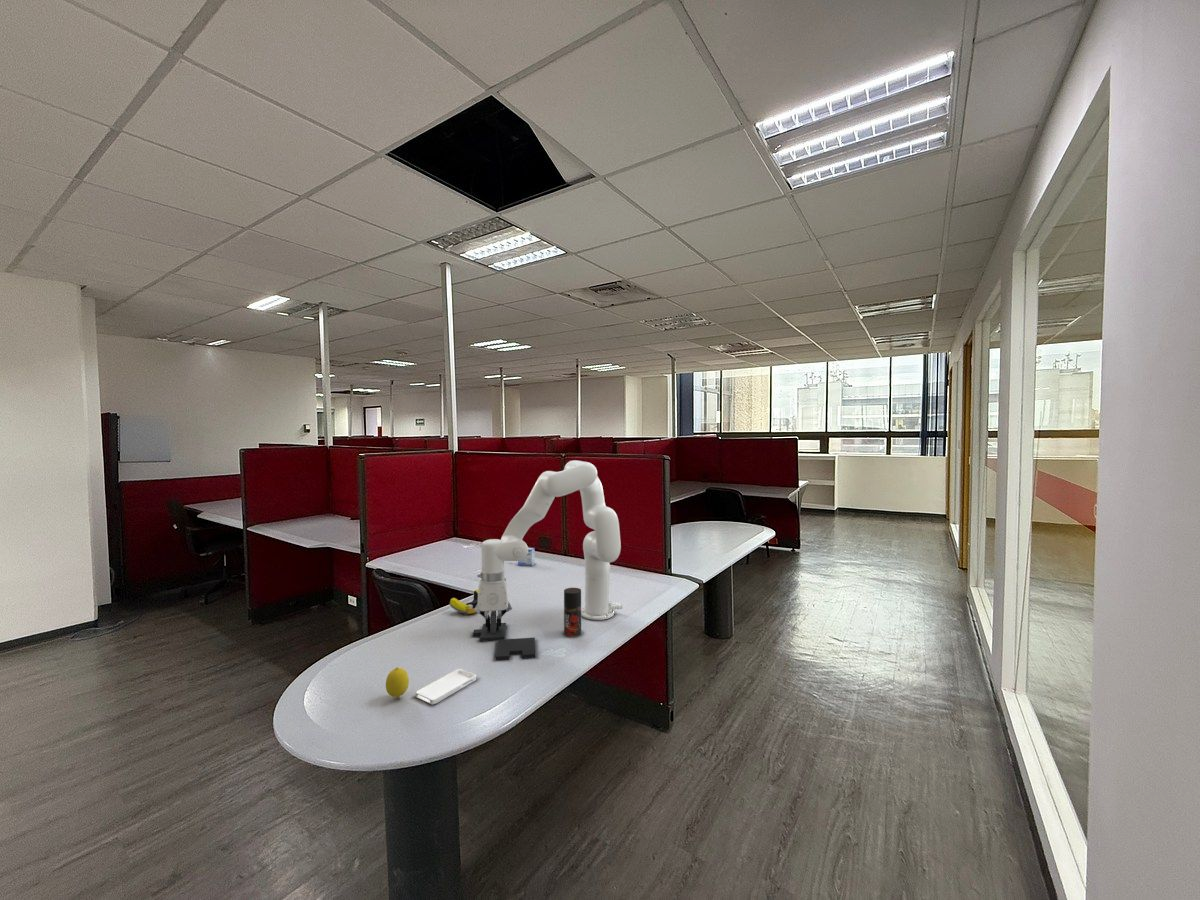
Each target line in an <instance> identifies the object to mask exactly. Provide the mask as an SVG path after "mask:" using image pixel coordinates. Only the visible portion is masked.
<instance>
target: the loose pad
mask: <svg viewBox="0 0 1200 900" xmlns="http://www.w3.org/2000/svg"><path fill="white" fill-rule="evenodd" d="M489 616H490V630H489V631H487V627H486V623H482V626H481V627H482V628H477V629H473V632H472V637H479V642H481V643H482V642H496V641H497V642H498V640H502V639H506V629H507V622H501V627H499V630H497V611H490V615H489Z"/></svg>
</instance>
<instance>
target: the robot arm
mask: <svg viewBox="0 0 1200 900" xmlns="http://www.w3.org/2000/svg"><path fill="white" fill-rule="evenodd" d="M577 491H579V492H580V497H581V498H580V499H581V506H582V516H583V518H582V519H583V522H584V524H585V526H586V527H588V528H590V529H592V530H593V531H590V532H588V533H587V534H586V535H585V537H584V538H583V542H582V550H583V558H584V607H583V608H581V617H583V618H584V619H587V620H590V621H591V620H593V621H604V620H608V619H610V618H612V617H614V615H615V610H623V603H618V602H612V601H611V563H613V562H616V561H617V559H618V558H619V556H620V555H621V549H622V545H621V544H622V543H621V542H622V541H621V531H620V522H619V518H618V514H617V513H616V511H615V510H614V509H613V508H611V507H609V506H607V505H606V502H605V495H604V489H603V485H602V482H601V480H600V478H599V476H598V470H597V467H596V466H595V465H594V463H593V464H592V463H591V462H588V461H583V460H575V459H574V460H569V461H568V462H567V463H566V464H565V465H564V468H563V470H561V471H553V470H546V471H543V472H542V473H541V474H540V475H539V476H538V477H537V480H536V481H535V484H534V485H533V487H532V489H531V491H530V493H529V495H528V496H527V498H526V500H525V502H524V504H523V506H522V507H521V508H520V509H519V510H518V512H517V513H515V515H514V516H513V518H511V519H510V521H509V522H508V524H507V527H506V528H505V529H504V532H503V534H502V535H501V538H500V539H498V538H489V539H486V540H483V541H482V543H481V571H480V572H478V573H477V574H476V576H477V578H480V580H479V583H478V588H477V590H478V603H477V605H476V607H475V610H474V611H475V612H476V613H477V614H480V616H482V618H484V620H485V624H486V627H487V631H489V630H490V616H491V615H490V612H491V611H496V612H497V615H496V623H497V630H499V627H501V623H502V619H503V617H504V615H506V613H508V612H510V611H512V610H513V606H512V604H511V602H510V599H509V588H508V587H509V586H508V581H507V578H505V562H518V561H520V560H522V559H524V558H525V557H526V556H527V554H528V548H529V546H528V545H527V543H526V542H525V541H524V540H523V539H524V536H525V535H526V534H527V533H528V531H529V529H530V528H532V526H534V524H537V523H538V522H540V521H542V520H543V519H545V517H546V515H547V513H548V511H549V509H550V507H551V505H552V504H553V502H554V500H555V497H556V498H559V497H563V496H567V495H569V494H573V493H575V492H577Z"/></svg>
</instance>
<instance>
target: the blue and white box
mask: <svg viewBox="0 0 1200 900" xmlns="http://www.w3.org/2000/svg"><path fill="white" fill-rule="evenodd" d="M535 551H536V550H535V547H528V554H527V556H526V557H525V558H524V559H522V560H520V561H517V566H526V567H527V566H528V567H533V566H534V564H535V557H536V556H535Z"/></svg>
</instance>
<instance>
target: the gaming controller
mask: <svg viewBox="0 0 1200 900" xmlns="http://www.w3.org/2000/svg"><path fill="white" fill-rule="evenodd" d="M472 599H473V600H471V601H470V602H466V603H464V602H462V601H460V600H459V599H457V598H456V597H452V598H451V599H450V601H449V606H450V607H451V609H452V610H455V611H457V612H459V613H462V614H463V615H464V616H469V615H472V614H476V613H477V612H475V611H474V610H475V607H476V605H477V603H478V589H475V590H474V591H473V598H472Z"/></svg>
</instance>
